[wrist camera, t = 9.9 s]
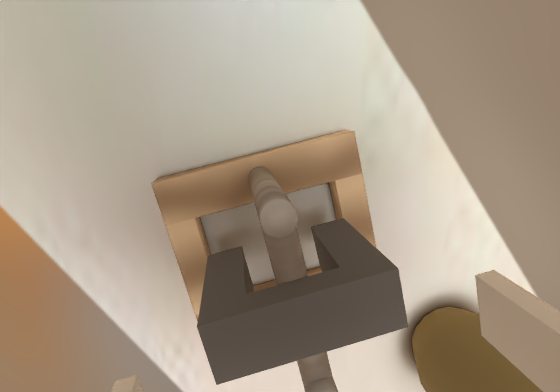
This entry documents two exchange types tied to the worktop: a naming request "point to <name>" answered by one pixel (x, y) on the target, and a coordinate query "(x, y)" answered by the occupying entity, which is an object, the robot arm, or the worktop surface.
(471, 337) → the squeeze bottle
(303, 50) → the worktop surface
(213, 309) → the grey notched block
